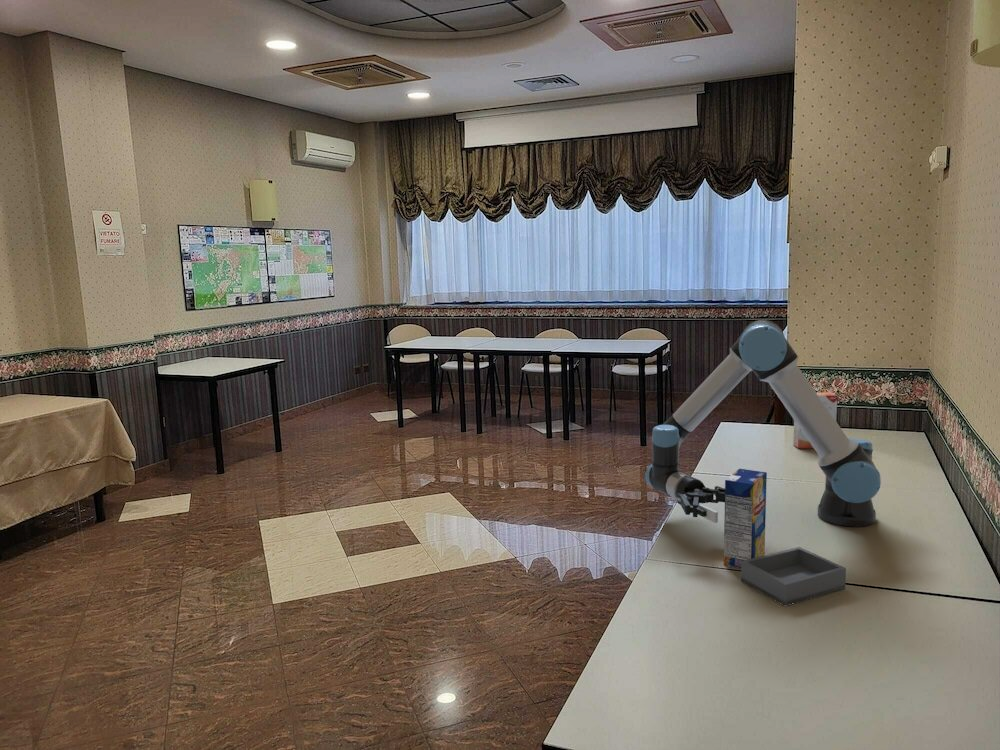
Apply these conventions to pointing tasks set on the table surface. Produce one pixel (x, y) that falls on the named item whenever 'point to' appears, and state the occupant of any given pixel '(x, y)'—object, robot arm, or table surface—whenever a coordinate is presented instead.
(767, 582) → the tray
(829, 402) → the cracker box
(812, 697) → the table surface
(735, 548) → the beverage box
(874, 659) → the table surface
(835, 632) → the table surface
